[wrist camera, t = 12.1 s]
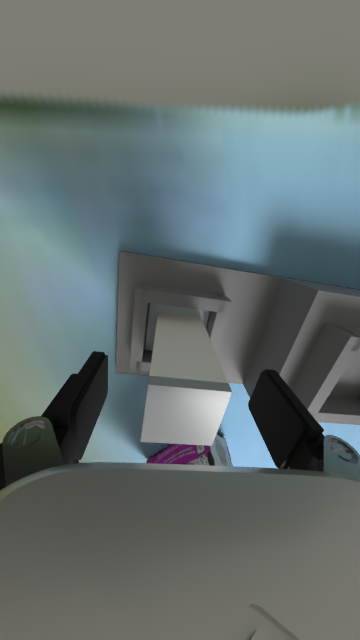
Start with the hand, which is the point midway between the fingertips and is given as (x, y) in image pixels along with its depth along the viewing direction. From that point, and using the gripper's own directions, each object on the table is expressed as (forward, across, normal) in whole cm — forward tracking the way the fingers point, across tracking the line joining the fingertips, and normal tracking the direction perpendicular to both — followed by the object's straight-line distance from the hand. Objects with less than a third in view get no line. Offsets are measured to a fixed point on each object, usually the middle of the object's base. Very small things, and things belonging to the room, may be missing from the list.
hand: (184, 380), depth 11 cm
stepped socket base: (+8, -7, 0) cm, 10 cm away
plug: (+7, 0, +1) cm, 7 cm away
